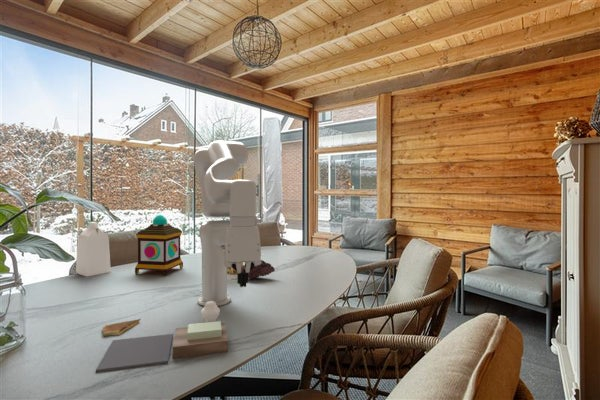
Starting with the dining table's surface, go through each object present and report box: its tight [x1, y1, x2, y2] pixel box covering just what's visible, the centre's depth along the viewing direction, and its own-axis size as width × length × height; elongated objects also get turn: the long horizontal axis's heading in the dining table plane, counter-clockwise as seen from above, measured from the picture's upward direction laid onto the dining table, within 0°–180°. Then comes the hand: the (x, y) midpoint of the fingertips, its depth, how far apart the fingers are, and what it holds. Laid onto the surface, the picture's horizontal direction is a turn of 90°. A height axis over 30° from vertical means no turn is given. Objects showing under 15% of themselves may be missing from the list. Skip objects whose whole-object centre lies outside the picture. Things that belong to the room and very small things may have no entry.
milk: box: [75, 221, 112, 277], centre depth 170 cm, size 12×12×26 cm
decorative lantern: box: [134, 214, 184, 277], centre depth 174 cm, size 20×20×30 cm
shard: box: [102, 318, 141, 337], centre depth 102 cm, size 11×8×2 cm
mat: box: [95, 333, 174, 373], centre depth 88 cm, size 16×16×1 cm
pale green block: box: [187, 320, 222, 340], centre depth 93 cm, size 9×6×2 cm, turn 107°
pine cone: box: [241, 259, 275, 280], centre depth 162 cm, size 18×10×10 cm, turn 88°
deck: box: [172, 323, 229, 359], centre depth 93 cm, size 12×14×3 cm
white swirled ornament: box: [200, 301, 221, 323], centre depth 109 cm, size 6×6×7 cm
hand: (242, 285), depth 95 cm, fingers closed
